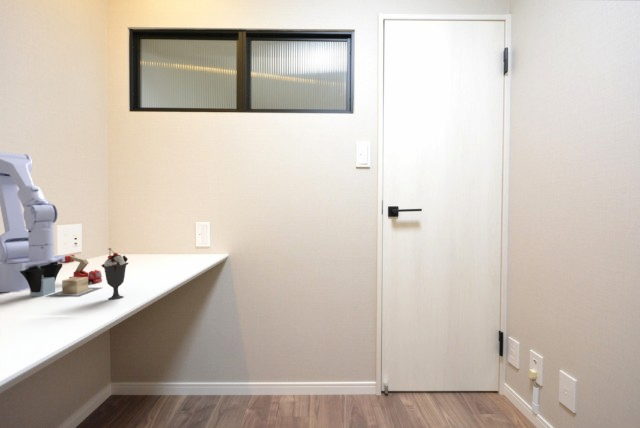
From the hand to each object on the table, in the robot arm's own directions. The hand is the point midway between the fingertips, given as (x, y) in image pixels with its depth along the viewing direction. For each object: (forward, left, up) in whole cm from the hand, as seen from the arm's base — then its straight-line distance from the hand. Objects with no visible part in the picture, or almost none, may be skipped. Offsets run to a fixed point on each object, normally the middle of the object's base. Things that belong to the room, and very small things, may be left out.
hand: (42, 289), depth 96 cm
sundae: (+24, -3, -2) cm, 25 cm away
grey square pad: (+8, +3, -2) cm, 9 cm away
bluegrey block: (0, 0, -2) cm, 2 cm away
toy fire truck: (0, +15, -2) cm, 15 cm away
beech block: (+8, +3, -1) cm, 8 cm away
